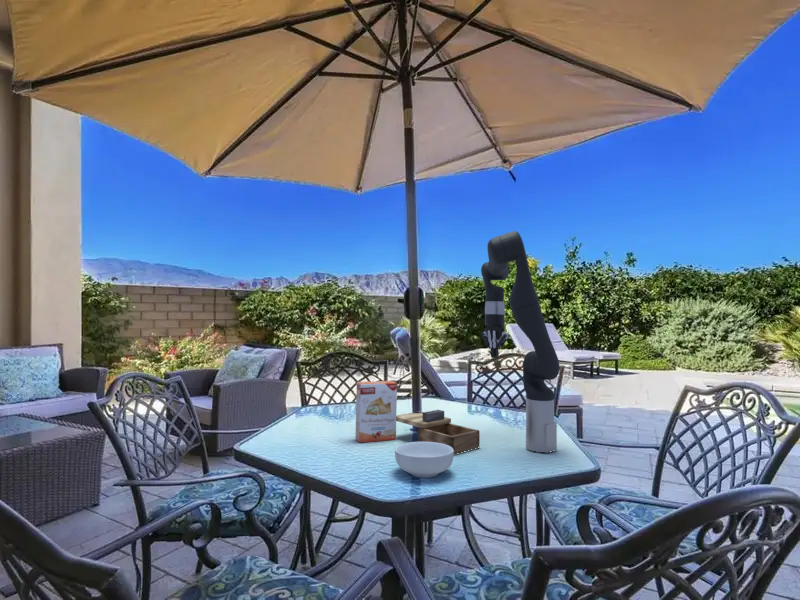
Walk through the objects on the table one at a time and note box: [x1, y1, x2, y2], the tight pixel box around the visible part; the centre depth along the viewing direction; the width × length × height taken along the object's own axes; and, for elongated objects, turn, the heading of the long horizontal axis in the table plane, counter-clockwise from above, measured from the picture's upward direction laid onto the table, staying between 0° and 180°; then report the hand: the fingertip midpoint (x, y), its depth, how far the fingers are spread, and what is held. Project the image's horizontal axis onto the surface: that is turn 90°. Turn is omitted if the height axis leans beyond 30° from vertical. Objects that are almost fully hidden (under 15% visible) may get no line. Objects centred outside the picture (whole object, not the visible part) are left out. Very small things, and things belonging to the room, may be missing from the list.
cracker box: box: [355, 380, 398, 443], centre depth 171 cm, size 14×6×21 cm, turn 110°
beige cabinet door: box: [396, 409, 452, 428], centre depth 173 cm, size 16×14×4 cm
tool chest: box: [417, 422, 481, 455], centre depth 163 cm, size 16×14×6 cm
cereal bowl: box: [394, 441, 455, 479], centre depth 136 cm, size 17×17×7 cm
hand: (494, 357), depth 183 cm, fingers closed
